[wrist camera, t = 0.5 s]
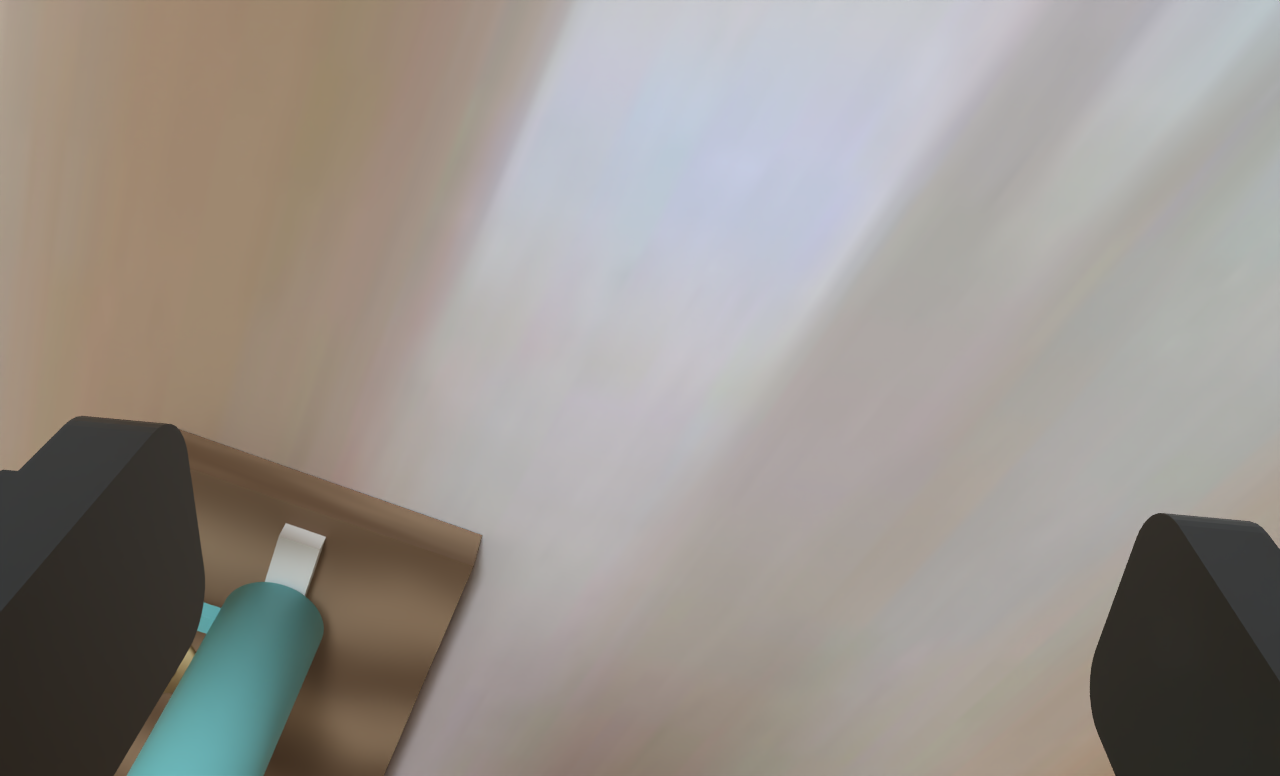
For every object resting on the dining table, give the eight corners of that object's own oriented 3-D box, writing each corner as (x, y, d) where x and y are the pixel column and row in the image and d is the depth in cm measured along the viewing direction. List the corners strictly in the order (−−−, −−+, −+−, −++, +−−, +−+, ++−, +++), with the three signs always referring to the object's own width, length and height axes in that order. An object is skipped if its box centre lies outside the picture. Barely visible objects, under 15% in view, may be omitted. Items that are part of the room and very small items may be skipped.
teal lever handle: (175, 543, 42) (-90, 937, 28) (337, 597, 43) (162, 1004, 29) (156, 616, 44) (-101, 1021, 30) (312, 666, 45) (136, 1082, 31)
